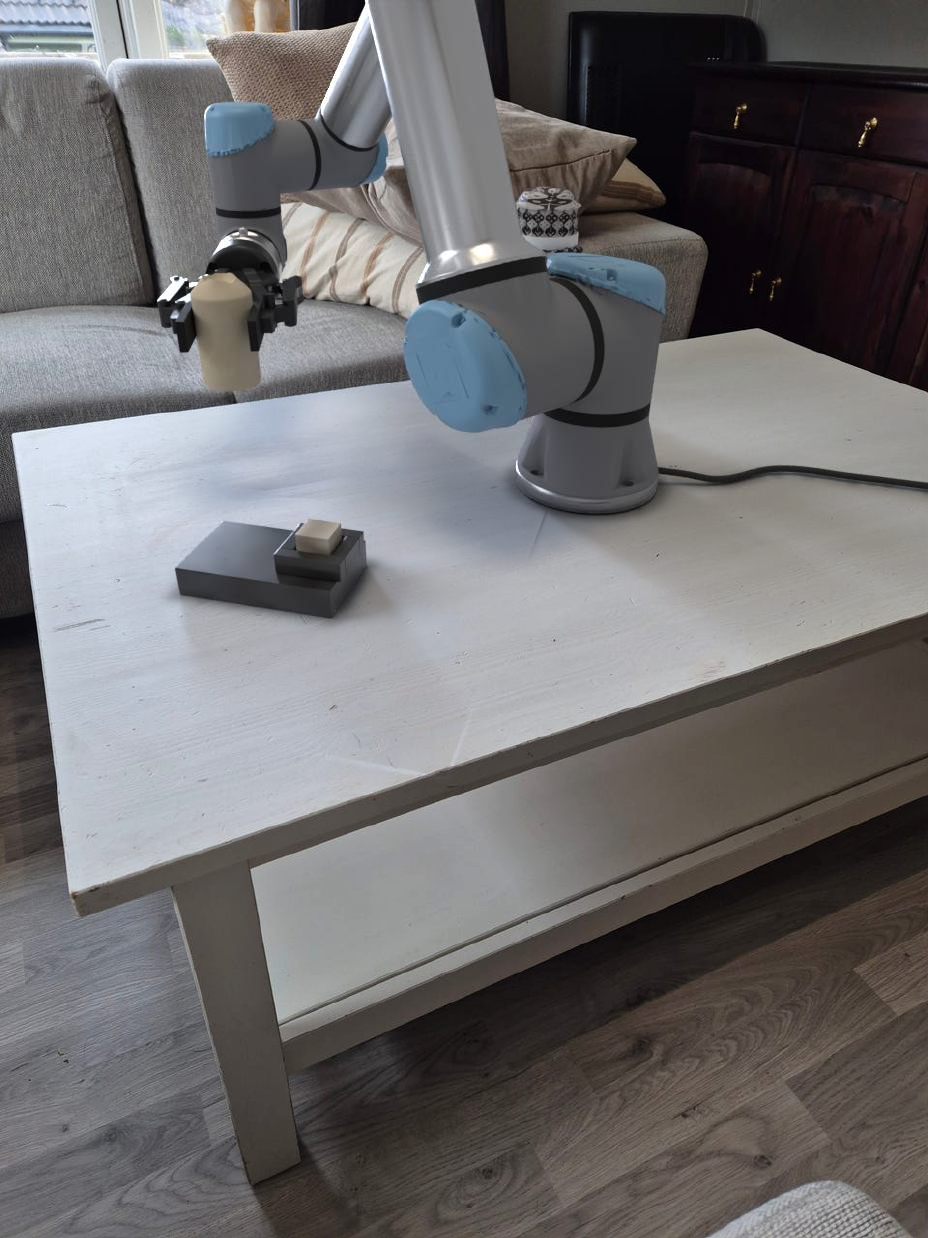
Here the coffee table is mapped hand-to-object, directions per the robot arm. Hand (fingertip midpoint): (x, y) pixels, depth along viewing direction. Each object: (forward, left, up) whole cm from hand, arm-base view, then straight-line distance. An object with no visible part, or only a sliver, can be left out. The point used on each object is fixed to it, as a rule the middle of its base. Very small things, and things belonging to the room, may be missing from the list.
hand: (217, 336), depth 79 cm
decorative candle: (-22, -42, -18) cm, 51 cm away
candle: (+2, -5, -6) cm, 8 cm away
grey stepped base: (-8, +10, -18) cm, 22 cm away
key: (-13, +10, -14) cm, 21 cm away
